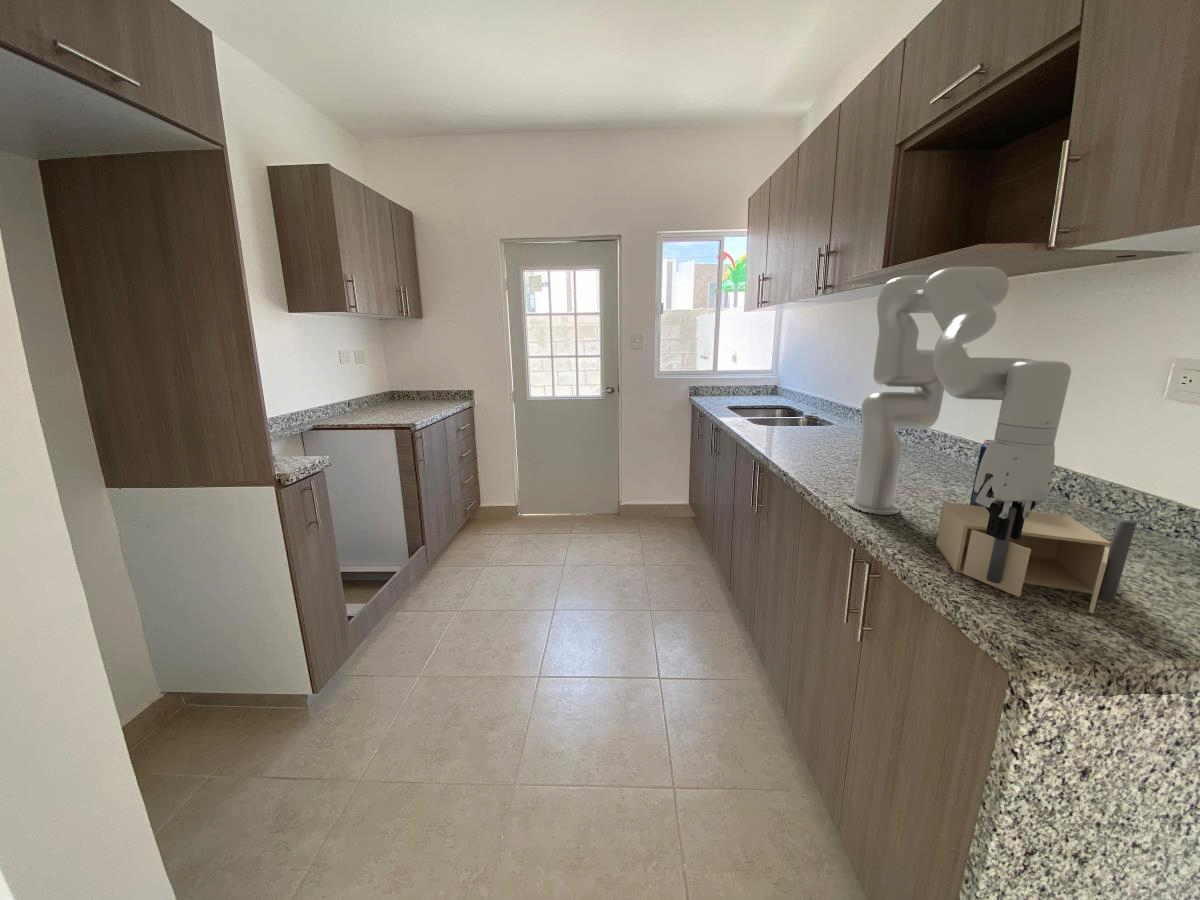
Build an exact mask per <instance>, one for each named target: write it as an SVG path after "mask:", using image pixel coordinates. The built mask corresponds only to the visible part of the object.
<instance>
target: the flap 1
mask: <svg viewBox="0 0 1200 900" xmlns="http://www.w3.org/2000/svg"><path fill="white" fill-rule="evenodd" d="M1016 511H1017V509H1016V508H1014V507H1011V506H1010V508H1009V512H1008V516H1007V518H1008V519H1010V523H1009V527H1008V532H1007V536H1006V539H1005V540H999V539H997V538H994V537H992V536H990V535H987V534H984V533H981V532H978V531H975V530H972V531H971V536H970V541H969V546H968V551H967V556H966V561H965V566H964V571H963V573H962V574H963V575H965V576H968V577H970V578H972V579H974V580H978V581H980V582H982V583H984V584H986V585H989V586H992V587H995V588H997V589H998V590H1002V591H1004V592H1006V593H1008V594H1012V595H1014V596H1016V597H1019V598H1020V597H1021V594H1022V590H1023V586H1024V583H1023V582H1024V578H1025V574H1026V569H1027V565H1028V561H1029V556H1030V552H1031V549H1029V548H1026V547H1023V546H1020V545H1017V544H1014V543H1011V542H1010V538H1011V533H1012V529H1013V524H1014V520H1015V515H1016Z"/></svg>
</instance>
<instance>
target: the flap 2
mask: <svg viewBox="0 0 1200 900" xmlns="http://www.w3.org/2000/svg"><path fill="white" fill-rule="evenodd" d="M1136 526H1137V523H1136V522H1134V521H1132V520H1129V519H1117V521H1116V525H1115V529H1114V532H1113V535H1112V538H1111V539H1112V540H1111V542H1110V543H1111V544H1110V547H1105V550H1104V553H1103V557H1102V561H1101V564H1100V568H1099V572H1098V575H1097V579H1096V583H1095V586H1094V590H1093V594H1092V595H1091V600H1090V605H1089V610H1088V612H1089V613H1091V614H1094V613H1095V612H1094V611H1095V609H1096V604H1097V600H1098V601H1101V602H1103V603H1106V604H1114V603H1115V599H1116V596H1117V591H1118V589H1119V585H1120V583H1121V578H1122V576H1123V571H1124V568H1125V565H1126V561H1127V557H1128V554H1129V551H1130V546H1131V545H1132V540H1133V538H1134V537H1133V536H1134V533H1135V529H1136Z"/></svg>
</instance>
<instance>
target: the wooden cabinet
mask: <svg viewBox="0 0 1200 900" xmlns="http://www.w3.org/2000/svg"><path fill="white" fill-rule="evenodd" d="M989 515H990V514H989V513H987V509H986V508H985V507H982V506H973V505H970V504H963V503H953V502H945V501H943V502H942V508H941V514H940V519H939V525H938V529H937V536H936V539H935V540H936V542H935V546H936V547H937V548H938V550H939V551H940V552H941V554H942V556H943V557H944V558H945V560H946V562H947V563H948V564H949V565H950V567H951V568H952V570H953V571H954V573H958V574H963V571H964V566H965V561H966V556H967V551H968V546H969V541H970V536H971V531H972V530H975V531H978V532H981V533H984V534H987V533H986V530H987V525H988V520H989ZM1024 519H1025V520H1024V524H1023V528H1022V533H1021V537H1020V539H1019V540H1015V539H1013V538H1010V542H1011V543H1014V544H1017V545H1020V546H1023V547H1026V548H1029V549H1031V552H1030V556H1029V561H1028V565H1027V569H1026V574H1025V578H1024V582H1023V584H1028V585H1032V586H1033V585H1034V586H1040V587H1048V588H1054V589H1058V590H1059V589H1060V590H1067V591H1072V592H1073V591H1074V592H1079V593H1086V594H1093V590H1094V586H1095V583H1096V579H1097V575H1098V572H1099V568H1100V564H1101V561H1102V557H1103V553H1104V550H1105V547H1109V548H1110V546H1111V542H1110V541H1108V540H1107V539H1105V538H1104V537H1103V536H1101V535H1099V534H1098V533H1096V532H1094V531H1092V530H1091V529H1090V528H1088V527H1086V526H1085V525H1083V524H1081V523H1080V522H1078V521H1077V520H1075V519H1073V518H1072V517H1071V516H1069V515H1063V514H1053V513H1045V512H1035V511H1030V513H1029V516H1028V517H1027V518H1024ZM987 535H988V534H987Z"/></svg>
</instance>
